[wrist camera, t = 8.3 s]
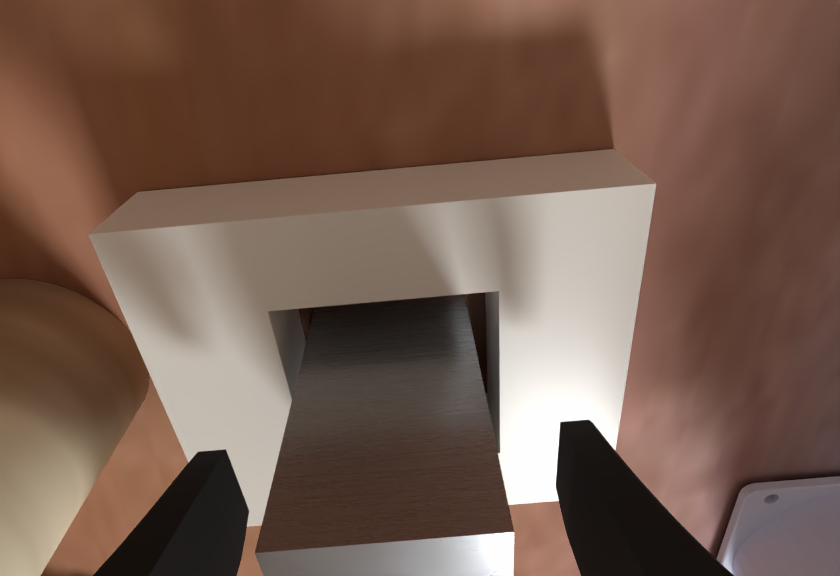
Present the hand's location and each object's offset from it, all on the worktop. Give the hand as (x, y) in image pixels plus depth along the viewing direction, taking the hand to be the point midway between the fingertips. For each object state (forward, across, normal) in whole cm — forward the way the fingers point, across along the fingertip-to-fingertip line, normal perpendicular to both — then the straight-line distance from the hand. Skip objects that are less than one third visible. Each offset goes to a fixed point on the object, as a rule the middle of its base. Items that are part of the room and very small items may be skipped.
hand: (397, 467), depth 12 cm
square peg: (+5, 0, 0) cm, 5 cm away
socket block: (+5, 0, 0) cm, 5 cm away
